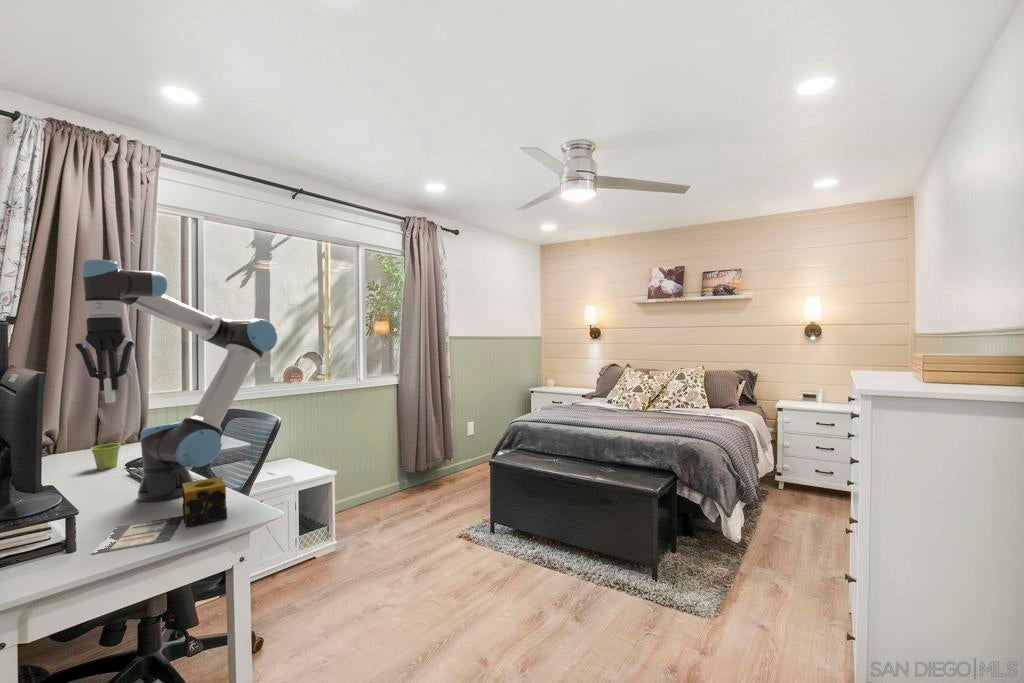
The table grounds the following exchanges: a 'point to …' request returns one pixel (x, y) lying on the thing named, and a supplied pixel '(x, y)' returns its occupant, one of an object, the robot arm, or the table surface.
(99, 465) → the plant pot
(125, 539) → the label plate
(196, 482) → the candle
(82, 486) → the table surface
